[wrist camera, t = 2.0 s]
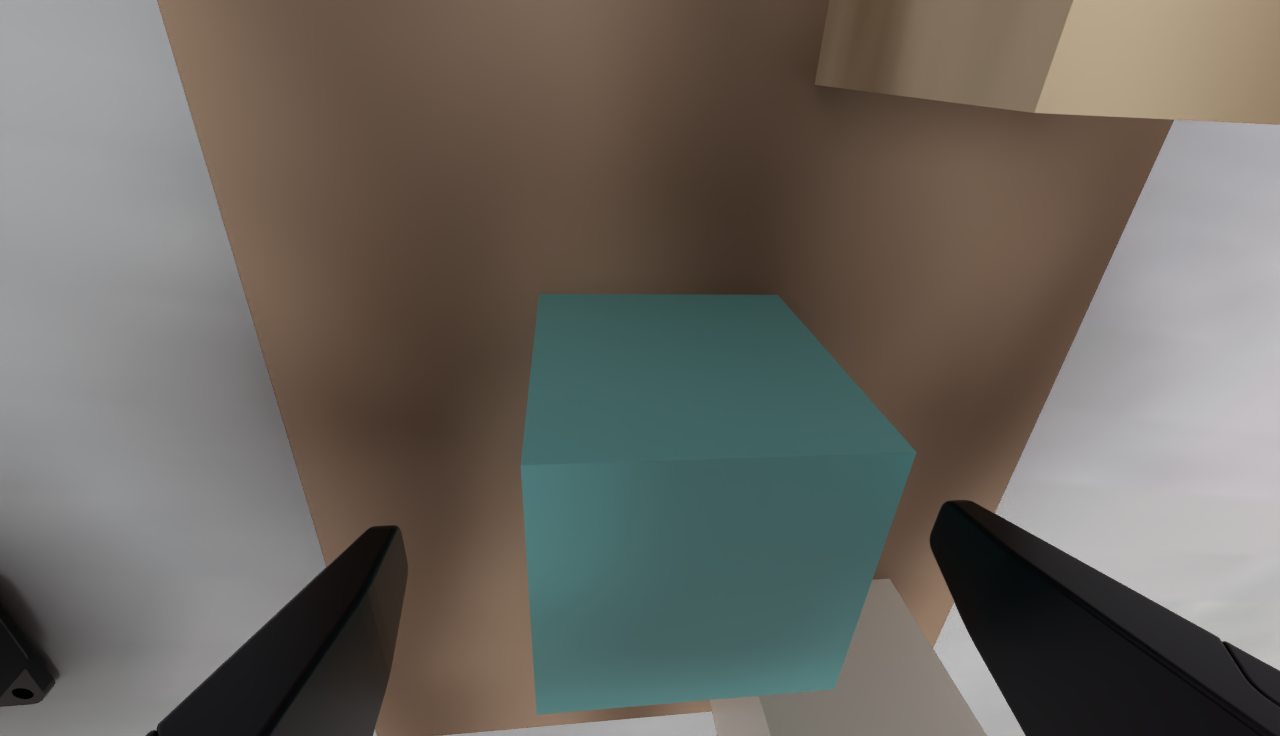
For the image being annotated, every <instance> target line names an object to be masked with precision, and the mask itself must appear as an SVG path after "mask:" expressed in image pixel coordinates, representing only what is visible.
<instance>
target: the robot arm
mask: <svg viewBox="0 0 1280 736" xmlns="http://www.w3.org/2000/svg"><path fill="white" fill-rule="evenodd" d="M929 540H930V547H931V550H932V553H933V555H934V557H935V559H936V562H937V564H938V566H939V568H940V571H941V573H942V575H943V578H944V580H945V582H946V584H947V587H948V589H949V591H950V593H951V596H952V598H953V600H954V602H955V605H956V607H957V609H958V611H959V614H960V616H961V618H962V620H963V622H964V624H965V626H966V629H967V631H968V633H969V635H970V637H971V638H972V640H973V642H974V644H975V646H976V648H977V650H978V651H979V653H980V655H981V657H982V658H983V660H984V662H985V664H986V666H987V667H988V669H989V671H990V673H991V675H992V676H993V678H994V680H995V682H996V683H997V685H998V687H999V689H1000V691H1001V692H1002V694H1003V696H1004V698H1005V699H1006V701H1007V703H1008V705H1009V707H1010V708H1011V710H1012V712H1013V714H1014V716H1015V717H1016V719H1017V721H1018V723H1019V724H1020V726H1021V728H1022V730H1023V732H1024V733H1025V735H1026V736H1280V671H1279V670H1277V669H1275V668H1273V667H1272V666H1270V665H1268V664H1266V663H1264V662H1262V661H1260V660H1259V659H1257V658H1255V657H1253V656H1251V655H1250V654H1248V653H1246V652H1244V651H1242V650H1241V649H1239V648H1237V647H1235V646H1233V645H1232V644H1230V643H1228V642H1225V641H1223V642H1222V641H1221V640H1220V638H1219V637H1217V636H1215V635H1213V634H1212V633H1210V632H1208V631H1206V630H1204V629H1203V628H1201V627H1199V626H1197V625H1195V624H1193V623H1192V622H1190V621H1188V620H1186V619H1184V618H1183V617H1181V616H1179V615H1177V614H1175V613H1174V612H1172V611H1170V610H1168V609H1166V608H1165V607H1163V606H1161V605H1159V604H1157V603H1155V602H1154V601H1152V600H1150V599H1148V598H1146V597H1145V596H1143V595H1141V594H1139V593H1137V592H1136V591H1134V590H1132V589H1130V588H1128V587H1127V586H1125V585H1123V584H1121V583H1119V582H1117V581H1116V580H1114V579H1112V578H1110V577H1108V576H1107V575H1105V574H1103V573H1101V572H1099V571H1098V570H1096V569H1094V568H1092V567H1090V566H1089V565H1087V564H1085V563H1083V562H1081V561H1079V560H1078V559H1076V558H1074V557H1072V556H1070V555H1069V554H1067V553H1065V552H1063V551H1061V550H1060V549H1058V548H1056V547H1054V546H1052V545H1051V544H1049V543H1047V542H1045V541H1043V540H1042V539H1040V538H1038V537H1036V536H1034V535H1032V534H1031V533H1029V532H1027V531H1025V530H1023V529H1022V528H1020V527H1018V526H1016V525H1014V524H1013V523H1011V522H1009V521H1007V520H1005V519H1004V518H1002V517H1000V516H998V515H996V514H995V513H993V512H991V511H989V510H987V509H985V508H984V507H982V506H980V505H978V504H976V503H975V502H973V501H970V500H950V501H946V502H945V503H944V504H942V506H941V508H940V510H939V513H938V515H937V518H936V521H935V523H934V526H933V528H932V531H931V533H930V539H929ZM407 578H408V561H407V556H406V551H405V547H404V542H403V537H402V532H401V530H400V528H399V527H398V526H396V525H386V526H373V527H370V528H368V529H367V530H366V531H365V532H364V533H363V534H362V535H360V536H359V537H358V538H357V539H356V540H355V541H354V542H353V543H352V544H351V545H350V546H349V547H348V548H347V549H345V550H344V551H343V552H342V553H341V554H340V555H339V556H338V557H337V558H336V559H335V560H334V561H333V562H332V563H330V564H329V565H328V566H327V567H326V568H325V569H324V570H323V571H322V572H321V573H320V574H319V575H318V576H316V577H315V578H314V579H313V580H312V581H311V582H310V583H309V584H308V585H307V586H306V587H305V588H304V589H303V590H301V591H300V592H299V593H298V594H297V595H296V596H295V597H294V598H293V599H292V600H291V601H290V602H289V603H288V604H286V605H285V606H284V607H283V608H282V609H281V610H280V611H279V612H278V613H277V614H276V615H275V616H274V617H273V618H271V619H270V620H269V621H268V622H267V623H266V624H265V625H264V626H263V627H262V628H261V629H260V630H259V631H258V632H256V633H255V634H254V635H253V636H252V637H251V638H250V639H249V640H248V641H247V642H246V643H245V644H244V645H243V646H241V647H240V648H239V649H238V650H237V651H236V652H235V653H234V654H233V655H232V656H231V657H230V658H229V659H228V660H226V661H225V662H224V663H223V664H222V665H221V666H220V667H219V668H218V669H217V670H216V671H215V672H214V673H213V674H211V675H210V676H209V677H208V678H207V679H206V680H205V681H204V682H203V683H202V684H201V685H200V686H199V687H198V688H196V689H195V690H194V691H193V692H192V693H191V694H190V695H189V696H188V697H187V698H186V699H185V700H184V701H183V702H181V703H180V704H179V705H178V706H177V707H176V708H175V709H174V710H173V711H172V712H171V713H170V714H169V715H168V716H166V717H165V718H164V719H163V720H162V721H161V722H160V723H159V724H158V726H157V731H156V730H152V731H150V732H149V733H148V734H147V735H146V736H373V733H374V730H375V726H376V723H377V719H378V716H379V713H380V709H381V706H382V703H383V699H384V696H385V692H386V689H387V685H388V681H389V677H390V672H391V667H392V662H393V657H394V651H395V646H396V640H397V635H398V629H399V623H400V618H401V612H402V607H403V601H404V595H405V590H406V584H407ZM54 684H55V681H54V678H53V677H52V676H51V674H50V673H49V671H48V670H47V669H46V667H45V666H44V664H43V663H42V661H41V660H40V659H39V657H38V656H37V654H36V653H35V652H34V650H33V649H32V647H31V646H30V645H29V643H28V642H27V640H26V639H25V638H24V636H23V635H22V633H21V632H20V631H19V629H18V628H17V626H16V625H15V624H14V622H13V621H12V619H11V618H10V617H9V615H8V614H7V612H6V611H5V610H4V608H3V607H2V605H1V604H0V707H2V706H15V705H28V704H35V703H39V702H40V701H42V700H43V699H44V698H45V696H46V695H47V694H48V693H49V692H50V690H51V689H52V688H53V687H54Z"/></svg>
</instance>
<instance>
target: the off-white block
mask: <svg viewBox="0 0 1280 736" xmlns="http://www.w3.org/2000/svg"><path fill="white" fill-rule="evenodd" d="M710 705H711V709H712V714H713V718H714V723H715V727H716V731H717V736H987V735H986V734H985V732H984V730H983V729H982V727H981V726H980V724H979V722H978V721H977V719H976V717H975V716H974V714H973V713H972V711H971V709H970V708H969V706H968V704H967V703H966V701H965V700H964V698H963V696H962V695H961V693H960V692H959V690H958V688H957V687H956V685H955V683H954V682H953V680H952V679H951V677H950V675H949V674H948V672H947V671H946V669H945V667H944V666H943V664H942V662H941V661H940V659H939V658H938V656H937V654H936V653H935V651H934V649H933V648H932V646H931V645H930V643H929V641H928V640H927V638H926V637H925V635H924V633H923V632H922V630H921V628H920V627H919V625H918V624H917V622H916V620H915V619H914V617H913V616H912V614H911V612H910V611H909V609H908V607H907V606H906V604H905V603H904V601H903V599H902V598H901V596H900V595H899V593H898V591H897V590H896V588H895V586H894V585H893V583H892V582H891V580H890V579H875V580H872V582H871V585H870V588H869V591H868V594H867V597H866V600H865V603H864V605H863V608H862V611H861V614H860V617H859V620H858V623H857V626H856V628H855V631H854V634H853V637H852V640H851V643H850V646H849V649H848V652H847V654H846V657H845V660H844V663H843V666H842V669H841V672H840V675H839V677H838V680H837V683H836V686H835V689H831V690H819V691H808V692H796V693H785V694H773V695H761V696H750V697H738V698H727V699H715V700H710Z"/></svg>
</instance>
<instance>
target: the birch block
mask: <svg viewBox="0 0 1280 736" xmlns="http://www.w3.org/2000/svg"><path fill="white" fill-rule="evenodd" d="M815 85H819V86H827V87H835V88H843V89H850V90H858V91H866V92H874V93H882V94H890V95H897V96H905V97H913V98H921V99H929V100H937V101H944V102H952V103H960V104H968V105H976V106H984V107H991V108H999V109H1007V110H1015V111H1023V112H1030V113H1045V114H1066V115H1087V116H1108V117H1129V118H1150V119H1171V120H1192V121H1214V122H1235V123H1256V124H1277V125H1280V0H829V4H828V10H827V16H826V22H825V27H824V33H823V39H822V45H821V50H820V56H819V62H818V67H817V73H816V79H815Z"/></svg>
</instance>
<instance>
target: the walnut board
mask: <svg viewBox="0 0 1280 736" xmlns="http://www.w3.org/2000/svg"><path fill="white" fill-rule="evenodd" d="M157 2H158V5H159V8H160V12H161V15H162V18H163V22H164V25H165V28H166V32H167V35H168V38H169V42H170V45H171V48H172V52H173V55H174V58H175V62H176V65H177V68H178V72H179V75H180V79H181V82H182V85H183V89H184V92H185V95H186V99H187V102H188V105H189V109H190V112H191V115H192V119H193V122H194V125H195V129H196V132H197V135H198V139H199V142H200V145H201V149H202V152H203V155H204V159H205V162H206V165H207V169H208V172H209V175H210V179H211V182H212V185H213V189H214V192H215V195H216V199H217V202H218V205H219V209H220V212H221V216H222V219H223V222H224V226H225V229H226V232H227V236H228V239H229V242H230V246H231V249H232V252H233V256H234V259H235V262H236V266H237V269H238V272H239V276H240V279H241V282H242V286H243V289H244V292H245V296H246V299H247V302H248V306H249V309H250V312H251V316H252V319H253V322H254V326H255V329H256V332H257V336H258V339H259V342H260V346H261V349H262V353H263V356H264V359H265V363H266V366H267V369H268V373H269V376H270V379H271V383H272V386H273V389H274V393H275V396H276V399H277V403H278V406H279V409H280V413H281V416H282V419H283V423H284V426H285V429H286V433H287V436H288V439H289V443H290V446H291V449H292V453H293V456H294V459H295V463H296V466H297V469H298V473H299V476H300V479H301V483H302V486H303V490H304V493H305V496H306V500H307V503H308V506H309V510H310V513H311V516H312V520H313V523H314V526H315V530H316V533H317V536H318V540H319V543H320V546H321V550H322V553H323V556H324V560H325V563H326V566H328V565H329V564H330V563H332V562H333V561H334V560H335V559H336V558H337V557H338V556H339V555H340V554H341V553H342V552H343V551H344V550H345V549H347V548H348V547H349V546H350V545H351V544H352V543H353V542H354V541H355V540H356V539H357V538H358V537H359V536H360V535H362V534H363V533H364V532H365V531H366V530H367V529H368V528H370V527H373V526H386V525H396V526H398V527H399V528H400V530H401V532H402V537H403V542H404V547H405V551H406V556H407V561H408V578H407V584H406V590H405V595H404V601H403V607H402V612H401V618H400V623H399V629H398V635H397V640H396V646H395V651H394V657H393V662H392V667H391V672H390V677H389V681H388V685H387V689H386V692H385V696H384V699H383V703H382V706H381V709H380V713H379V716H378V719H377V723H376V726H375V730H376V733H377V736H438V735H450V734H461V733H472V732H483V731H495V730H506V729H517V728H529V727H540V726H551V725H562V724H574V723H585V722H596V721H607V720H619V719H630V718H641V717H652V716H664V715H675V714H686V713H698V712H709V711H712V709H711V705H710V700H703V701H692V702H680V703H669V704H657V705H645V706H634V707H622V708H611V709H599V710H587V711H576V712H564V713H553V714H541V715H537V714H536V698H535V683H534V667H533V651H532V636H531V620H530V604H529V589H528V573H527V558H526V542H525V526H524V511H523V495H522V479H521V457H522V447H523V438H524V429H525V419H526V410H527V401H528V391H529V382H530V373H531V363H532V354H533V345H534V335H535V326H536V317H537V307H538V298H539V294H704V295H778V296H779V297H780V298H781V299H782V300H783V301H784V302H785V304H786V305H787V306H788V307H789V308H790V309H791V310H792V311H793V313H794V314H795V315H796V316H797V317H798V318H799V319H800V321H801V322H802V323H803V324H804V325H805V326H806V327H807V328H808V330H809V331H810V332H811V333H812V334H813V335H814V336H815V338H816V339H817V340H818V341H819V342H820V343H821V344H822V346H823V347H824V348H825V349H826V350H827V351H828V352H829V353H830V355H831V356H832V357H833V358H834V359H835V360H836V361H837V363H838V364H839V365H840V366H841V367H842V368H843V369H844V370H845V372H846V373H847V374H848V375H849V376H850V377H851V378H852V380H853V381H854V382H855V383H856V384H857V385H858V386H859V387H860V389H861V390H862V391H863V392H864V393H865V394H866V395H867V397H868V398H869V399H870V400H871V401H872V402H873V403H874V405H875V406H876V407H877V408H878V409H879V410H880V411H881V412H882V414H883V415H884V416H885V417H886V418H887V419H888V420H889V422H890V423H891V424H892V425H893V426H894V427H895V428H896V429H897V431H898V432H899V433H900V434H901V435H902V436H903V437H904V439H905V440H906V441H907V442H908V443H909V444H910V445H911V446H912V448H913V449H914V450H915V451H916V452H917V453H916V455H915V458H914V461H913V464H912V467H911V470H910V473H909V476H908V478H907V481H906V484H905V487H904V490H903V493H902V496H901V499H900V502H899V504H898V507H897V510H896V513H895V516H894V519H893V522H892V525H891V528H890V530H889V533H888V536H887V539H886V542H885V545H884V548H883V551H882V553H881V556H880V559H879V562H878V565H877V568H876V571H875V574H874V577H873V579H872V580H875V579H890V580H891V582H892V583H893V585H894V586H895V588H896V590H897V591H898V593H899V595H900V596H901V598H902V599H903V601H904V603H905V604H906V606H907V607H908V609H909V611H910V612H911V614H912V616H913V617H914V619H915V620H916V622H917V624H918V625H919V627H920V628H921V630H922V632H923V633H924V635H925V637H926V638H927V640H928V641H929V643H930V645H931V646H932V648H933V647H934V645H935V643H936V640H937V638H938V636H939V634H940V632H941V629H942V627H943V625H944V623H945V621H946V618H947V616H948V614H949V612H950V610H951V607H952V605H953V603H954V600H953V598H952V596H951V593H950V591H949V589H948V587H947V584H946V582H945V580H944V578H943V575H942V573H941V571H940V568H939V566H938V564H937V562H936V559H935V557H934V555H933V553H932V550H931V547H930V540H929V539H930V533H931V531H932V528H933V526H934V523H935V521H936V518H937V515H938V513H939V510H940V508H941V506H942V504H944V503H945V502H946V501H950V500H970V501H973V502H975V503H976V504H978V505H980V506H982V507H984V508H985V509H987V510H989V511H991V512H993V513H995V511H996V509H997V507H998V504H999V502H1000V500H1001V498H1002V496H1003V493H1004V491H1005V489H1006V487H1007V485H1008V483H1009V480H1010V478H1011V476H1012V474H1013V472H1014V469H1015V467H1016V465H1017V463H1018V461H1019V458H1020V456H1021V454H1022V452H1023V450H1024V447H1025V445H1026V443H1027V441H1028V439H1029V436H1030V434H1031V432H1032V430H1033V428H1034V426H1035V423H1036V421H1037V419H1038V417H1039V415H1040V412H1041V410H1042V408H1043V406H1044V404H1045V401H1046V399H1047V397H1048V395H1049V393H1050V390H1051V388H1052V386H1053V384H1054V382H1055V379H1056V377H1057V375H1058V373H1059V371H1060V369H1061V366H1062V364H1063V362H1064V360H1065V358H1066V355H1067V353H1068V351H1069V349H1070V347H1071V344H1072V342H1073V340H1074V338H1075V336H1076V333H1077V331H1078V329H1079V327H1080V325H1081V322H1082V320H1083V318H1084V316H1085V314H1086V312H1087V309H1088V307H1089V305H1090V303H1091V301H1092V298H1093V296H1094V294H1095V292H1096V290H1097V287H1098V285H1099V283H1100V281H1101V279H1102V276H1103V274H1104V272H1105V270H1106V268H1107V265H1108V263H1109V261H1110V259H1111V257H1112V255H1113V252H1114V250H1115V248H1116V246H1117V244H1118V241H1119V239H1120V237H1121V235H1122V233H1123V230H1124V228H1125V226H1126V224H1127V222H1128V219H1129V217H1130V215H1131V213H1132V211H1133V208H1134V206H1135V204H1136V202H1137V200H1138V198H1139V195H1140V193H1141V191H1142V189H1143V187H1144V184H1145V182H1146V180H1147V178H1148V176H1149V173H1150V171H1151V169H1152V167H1153V165H1154V162H1155V160H1156V158H1157V156H1158V154H1159V151H1160V149H1161V147H1162V145H1163V143H1164V141H1165V138H1166V136H1167V134H1168V132H1169V130H1170V127H1171V125H1172V123H1173V121H1174V120H1171V119H1150V118H1129V117H1108V116H1087V115H1066V114H1045V113H1030V112H1023V111H1015V110H1007V109H999V108H991V107H984V106H976V105H968V104H960V103H952V102H944V101H937V100H929V99H921V98H913V97H905V96H897V95H890V94H882V93H874V92H866V91H858V90H850V89H843V88H835V87H827V86H819V85H815V79H816V73H817V67H818V62H819V56H820V50H821V45H822V39H823V33H824V27H825V22H826V16H827V10H828V4H829V0H157Z"/></svg>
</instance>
